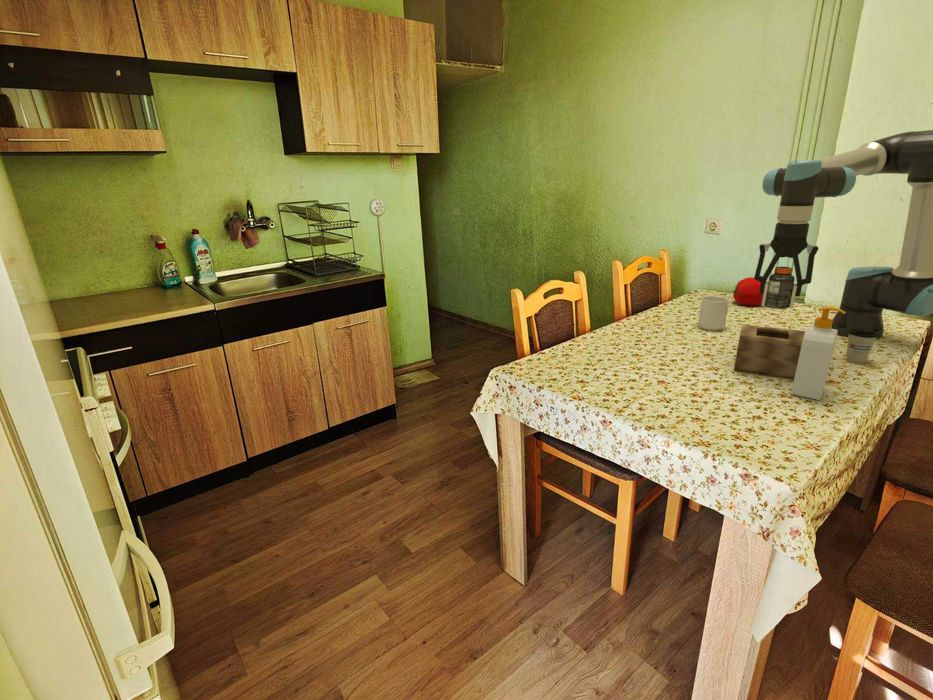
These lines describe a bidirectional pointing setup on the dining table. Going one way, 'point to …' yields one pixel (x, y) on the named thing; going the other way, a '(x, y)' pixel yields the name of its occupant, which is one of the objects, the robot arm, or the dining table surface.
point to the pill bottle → (780, 288)
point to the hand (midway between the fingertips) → (776, 306)
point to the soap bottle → (815, 357)
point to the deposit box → (768, 351)
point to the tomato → (748, 292)
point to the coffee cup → (860, 344)
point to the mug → (713, 313)
